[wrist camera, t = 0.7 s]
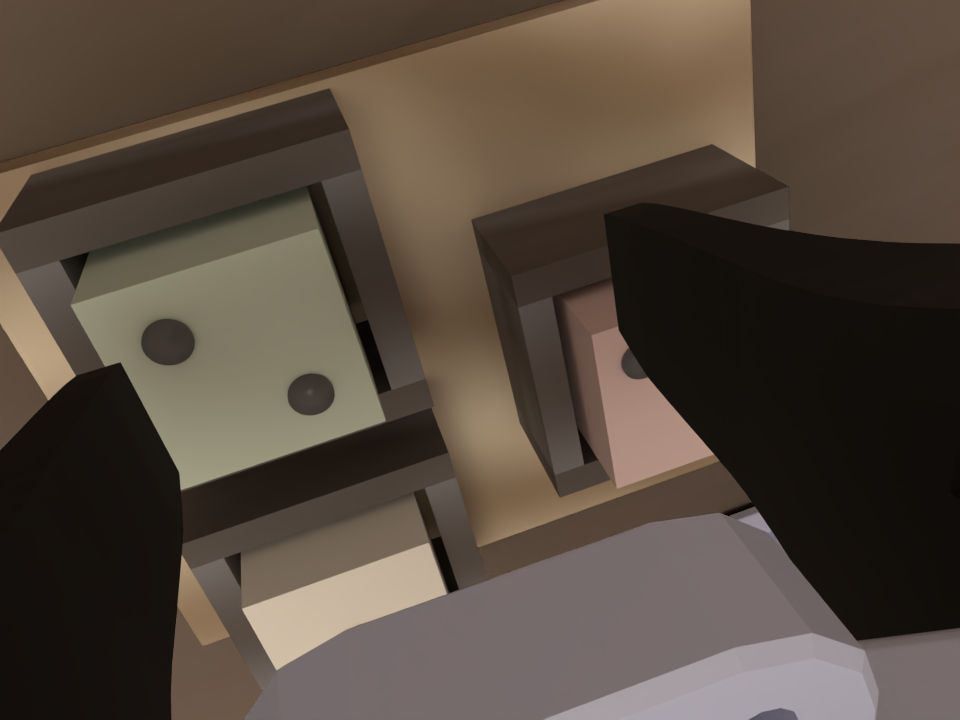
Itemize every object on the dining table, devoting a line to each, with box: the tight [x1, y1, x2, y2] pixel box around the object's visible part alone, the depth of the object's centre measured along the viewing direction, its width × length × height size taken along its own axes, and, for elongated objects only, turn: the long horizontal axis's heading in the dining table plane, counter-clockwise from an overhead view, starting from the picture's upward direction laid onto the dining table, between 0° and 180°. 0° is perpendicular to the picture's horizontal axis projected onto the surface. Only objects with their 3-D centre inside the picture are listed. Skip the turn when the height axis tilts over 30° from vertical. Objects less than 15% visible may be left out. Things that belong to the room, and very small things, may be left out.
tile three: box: [552, 277, 713, 489], centre depth 20 cm, size 4×4×3 cm
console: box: [0, 0, 789, 691], centre depth 21 cm, size 15×19×4 cm
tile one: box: [241, 492, 449, 670], centre depth 21 cm, size 4×4×3 cm
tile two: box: [71, 186, 386, 490], centre depth 17 cm, size 4×4×3 cm
